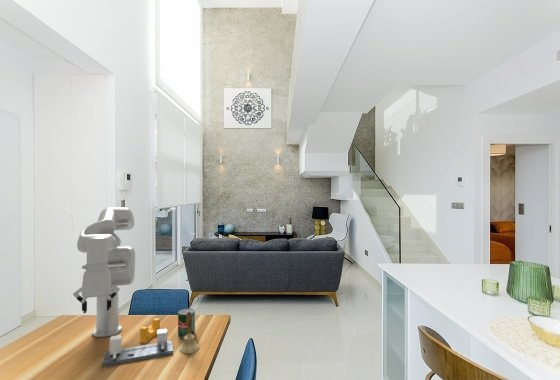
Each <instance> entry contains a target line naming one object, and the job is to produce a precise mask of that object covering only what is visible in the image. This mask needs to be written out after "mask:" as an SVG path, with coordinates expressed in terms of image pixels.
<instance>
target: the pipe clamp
mask: <svg viewBox="0 0 560 380" xmlns="http://www.w3.org/2000/svg"><path fill="white" fill-rule="evenodd" d="M157 330H161V318H157V317H156V318H154V319H152V324H151V325H149V326H142V327H140V329H139V331H140V332H139V334H140V335H139V342H140V343H141V344H142V343H145V344H147V342H148V341H149V340H151V339H152V338H154V337H155V336H157Z"/></svg>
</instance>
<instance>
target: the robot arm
mask: <svg viewBox="0 0 560 380" xmlns="http://www.w3.org/2000/svg"><path fill="white" fill-rule="evenodd" d="M134 226H135V217H134V214H133V211H132V210H131V209H130V208H129V207H107V208H106V207H105V208H104V209H102V210H101V212H100V213H99V216H98V218H97V221H96V222H94V223H92V224H90V225H87V226H85V227H84V228H83V229H82V230H81V232H80V234H79V236H78V239H77V242H76V247H77V250H78V251H79V252H80V253H83V254H86V264H84V265H82V266H81V269H82V270H85V271H84V272H83V276H82V284H81V285H82V286H81V287H79V289H77V290H76V291H74V292H73V294H72V295H73V297H74V298H75V299H76V300H77V301H78V302H79V303H80V304H81V311H82V312H83V314H86V313H87V311H88V301H87V299H88V298H96V322H95V323H96V328H95V329H94V330H93V331H92V336H94V338H95V337H96V338H105V337H106V338H107V337H111V336H116V335H118V334H119V333H121V331H122V330H123V327H122V325H120V324H119V313H120V312H119V303H120V302H119V301H120V299H119V298H120V297H119V296H120V295H119V291H120V290H121V289H120V287H121V286H128V285H131V284H133V283H134V280H135V275H136V273H135V272H136V250H135V248H134V247H132V246H121V244H122V240H121V238H120V236H119V235H118V234H116V233H115V231H129V230H132V229H133V228H134ZM118 286H120V287H118ZM80 293H81V295H80Z"/></svg>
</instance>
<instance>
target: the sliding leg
mask: <svg viewBox="0 0 560 380" xmlns="http://www.w3.org/2000/svg"><path fill="white" fill-rule="evenodd" d="M122 342H123V341H122V334H115V335H111V336H110V339H109V351H110V355H113V359H115V358H116V354H120V353H121V349H123V348H122V345H123V344H122Z"/></svg>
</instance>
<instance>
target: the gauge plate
mask: <svg viewBox="0 0 560 380" xmlns="http://www.w3.org/2000/svg"><path fill="white" fill-rule="evenodd" d="M156 337H157V338H156V342H154V343H148V344H143V345H137V346H132V347H130V346H129V347H125V348H122V349H121V353H120V354H116V358H115V359H113V355H110V350H107V351H105V353H104V356H103V360H102V362H101V363H102V368H106V367H110V366H116V365H121V364H127V363H132V362H137V361H143V360H144V361H145V360H149V359H152V358H153V359H154V358H159V357H163V356H170V355H174V354H173V353H174V350H173V342H172V340H168V328H160V330H157V334H156Z"/></svg>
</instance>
